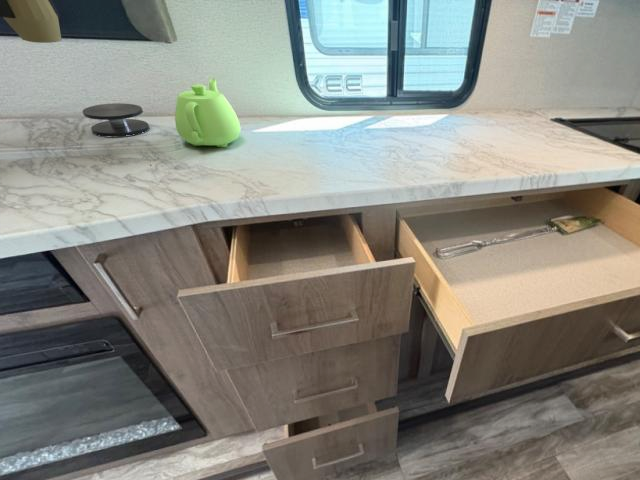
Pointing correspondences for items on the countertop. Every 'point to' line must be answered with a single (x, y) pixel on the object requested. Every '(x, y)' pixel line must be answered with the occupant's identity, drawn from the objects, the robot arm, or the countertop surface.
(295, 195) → the countertop surface
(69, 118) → the countertop surface
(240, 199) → the countertop surface
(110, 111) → the stand
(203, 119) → the teapot
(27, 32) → the squeeze bottle
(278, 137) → the countertop surface
